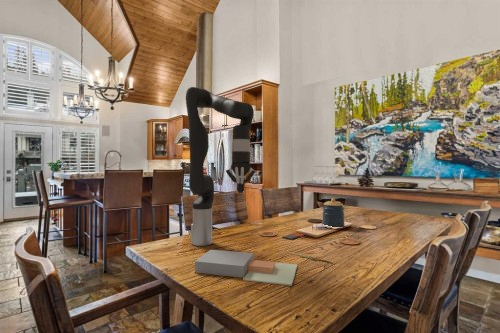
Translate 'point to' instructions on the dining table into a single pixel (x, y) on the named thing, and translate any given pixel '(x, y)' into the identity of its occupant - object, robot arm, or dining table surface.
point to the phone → (293, 236)
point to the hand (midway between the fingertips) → (240, 192)
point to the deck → (224, 263)
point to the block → (261, 266)
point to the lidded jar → (333, 213)
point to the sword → (309, 257)
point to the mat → (274, 275)
